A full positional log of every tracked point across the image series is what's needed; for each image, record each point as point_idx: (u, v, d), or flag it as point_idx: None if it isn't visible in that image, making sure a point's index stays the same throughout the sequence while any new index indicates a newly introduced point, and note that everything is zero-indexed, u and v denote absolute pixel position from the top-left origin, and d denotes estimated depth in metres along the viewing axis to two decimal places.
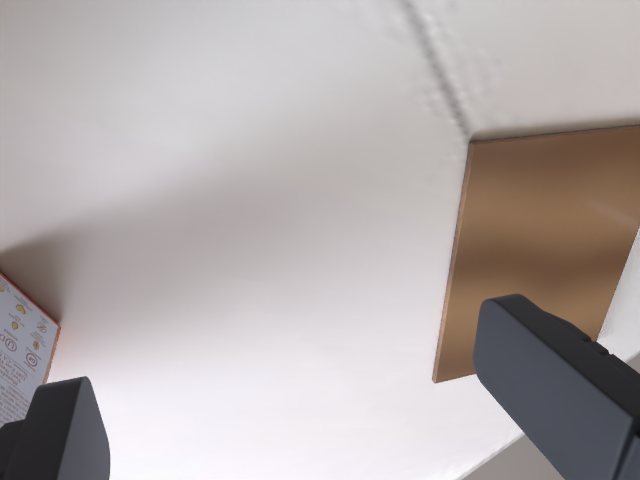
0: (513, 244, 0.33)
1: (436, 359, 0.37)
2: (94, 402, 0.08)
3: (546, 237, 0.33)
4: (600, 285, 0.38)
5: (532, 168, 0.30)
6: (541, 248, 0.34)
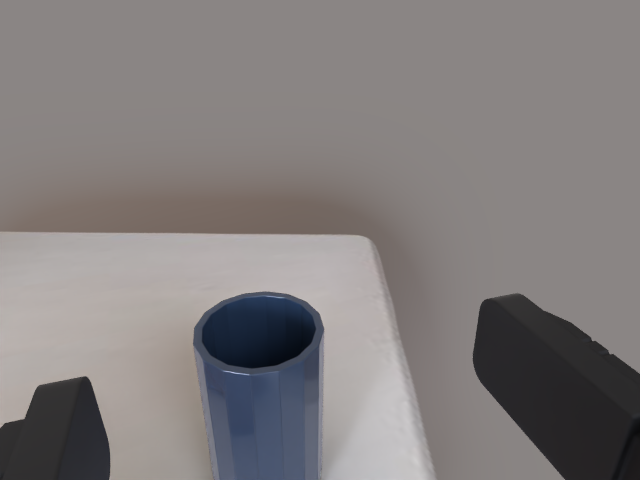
0: None
1: None
2: (94, 402, 0.08)
3: None
4: None
5: None
6: None
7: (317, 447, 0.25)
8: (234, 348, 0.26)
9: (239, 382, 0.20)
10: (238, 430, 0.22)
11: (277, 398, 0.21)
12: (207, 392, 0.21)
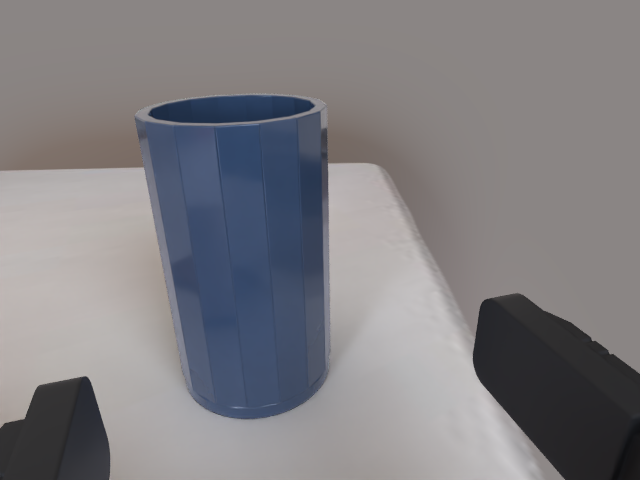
0: None
1: None
2: (94, 402, 0.08)
3: None
4: None
5: None
6: None
7: (323, 301, 0.17)
8: None
9: (199, 145, 0.13)
10: (203, 242, 0.14)
11: (259, 179, 0.14)
12: (156, 187, 0.14)
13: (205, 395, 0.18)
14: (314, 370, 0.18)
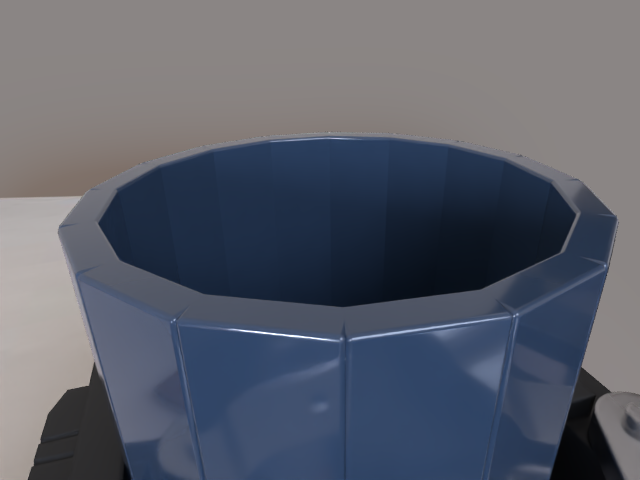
0: None
1: None
2: None
3: None
4: None
5: None
6: None
7: None
8: None
9: (273, 391, 0.03)
10: None
11: (471, 474, 0.04)
12: (123, 445, 0.05)
13: None
14: None
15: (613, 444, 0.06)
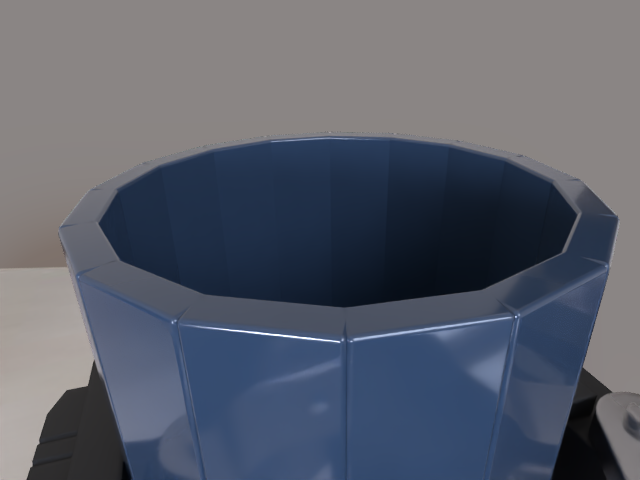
0: None
1: None
2: None
3: None
4: None
5: None
6: None
7: None
8: None
9: (274, 392, 0.03)
10: None
11: (472, 475, 0.04)
12: (124, 446, 0.05)
13: None
14: None
15: (614, 444, 0.06)
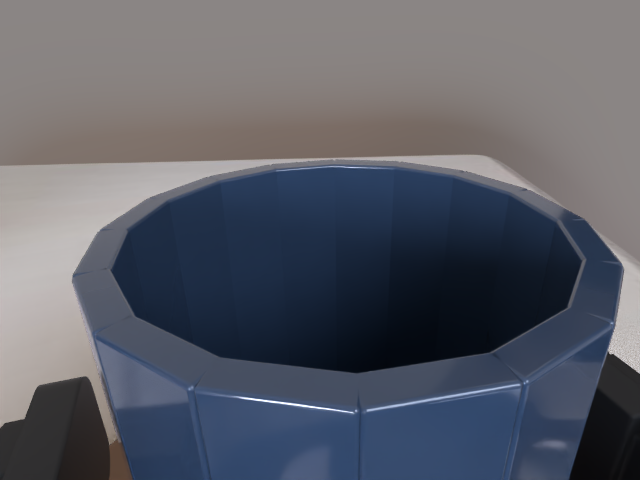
0: None
1: None
2: (94, 402, 0.08)
3: None
4: None
5: None
6: None
7: None
8: (246, 328, 0.09)
9: (288, 456, 0.03)
10: None
11: None
12: None
13: None
14: None
15: None
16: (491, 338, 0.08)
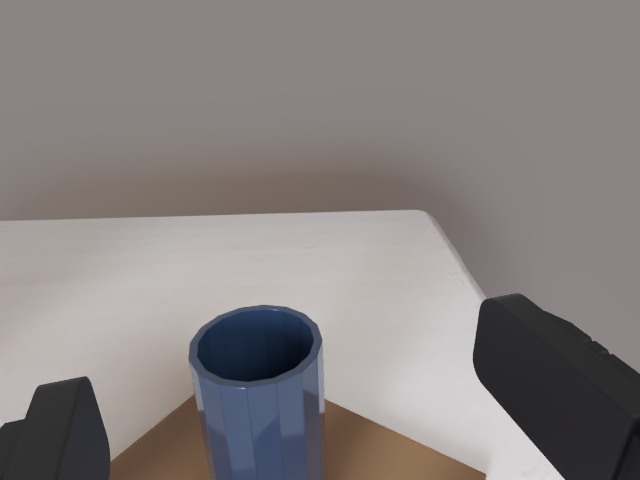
0: None
1: None
2: (94, 402, 0.08)
3: None
4: (369, 445, 0.30)
5: (135, 473, 0.28)
6: None
7: (320, 465, 0.24)
8: (232, 364, 0.25)
9: (235, 396, 0.19)
10: (236, 448, 0.21)
11: (275, 412, 0.20)
12: (204, 409, 0.21)
13: None
14: None
15: None
16: None
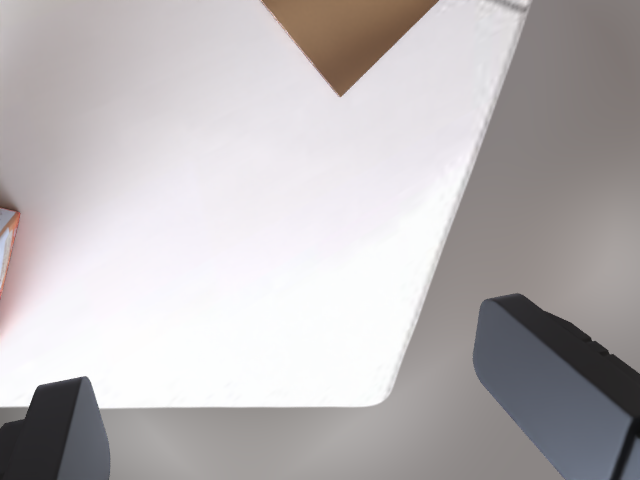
0: None
1: (321, 75, 0.39)
2: (94, 402, 0.08)
3: None
4: None
5: None
6: None
7: None
8: None
9: None
10: None
11: None
12: None
13: None
14: None
15: None
16: None
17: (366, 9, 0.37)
